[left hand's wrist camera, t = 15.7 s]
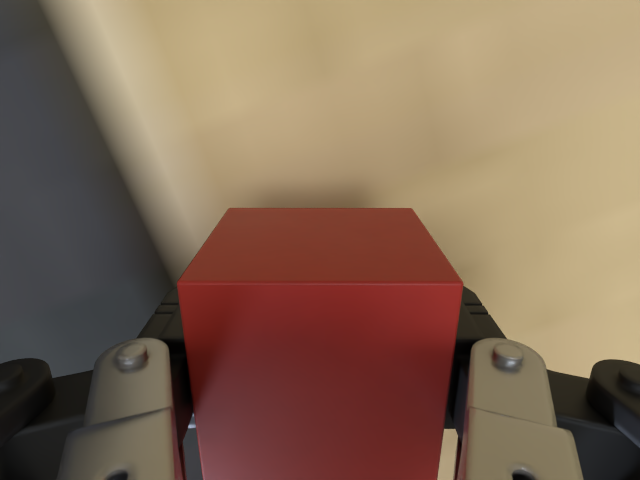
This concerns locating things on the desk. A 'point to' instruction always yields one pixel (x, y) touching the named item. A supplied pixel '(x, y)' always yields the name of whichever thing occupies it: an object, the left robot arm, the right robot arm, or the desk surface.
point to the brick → (320, 344)
